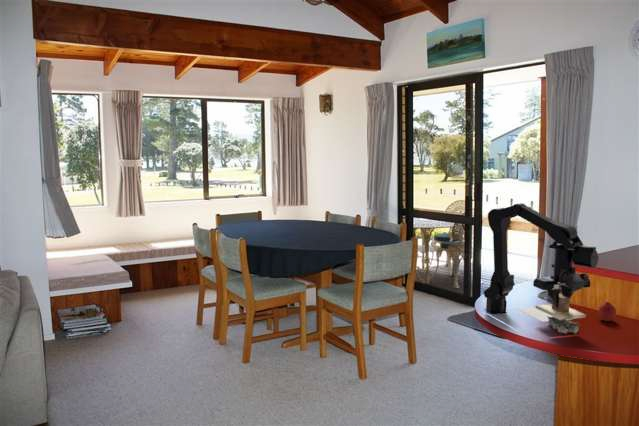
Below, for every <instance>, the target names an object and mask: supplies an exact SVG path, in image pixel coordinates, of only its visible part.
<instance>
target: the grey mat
mask: <svg viewBox="0 0 639 426" xmlns="http://www.w3.org/2000/svg"><path fill="white" fill-rule="evenodd" d="M515 309H516V310H517V311H520V312H522V313H525V314H526V315H528V316H530V317H532V318H534V319H536V320H538V321H540V322H543V323H545V322H546V323H548V320H549V319H548V318H547V316H548V317H553V316H551V315H549V314H547V313H545V312H543V311H541V310H538V309H536V306H532V307H516V308H515ZM566 320H568V321H570V320H571V319H566Z"/></svg>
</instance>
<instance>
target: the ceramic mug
mask: <svg viewBox="0 0 639 426" xmlns="http://www.w3.org/2000/svg"><path fill="white" fill-rule="evenodd" d="M558 283H559V282H558ZM559 289H560V290H562V286H561V285H560V286H559ZM559 294H562V291H561V292H560V293H559ZM537 296H538V298H540V299H541V298H542V299H545V298H547V299H549V300H551V301H552V299H551V297H550V294H549V293H548V291H547V290H542V291H540V292H538V293H537Z"/></svg>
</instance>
